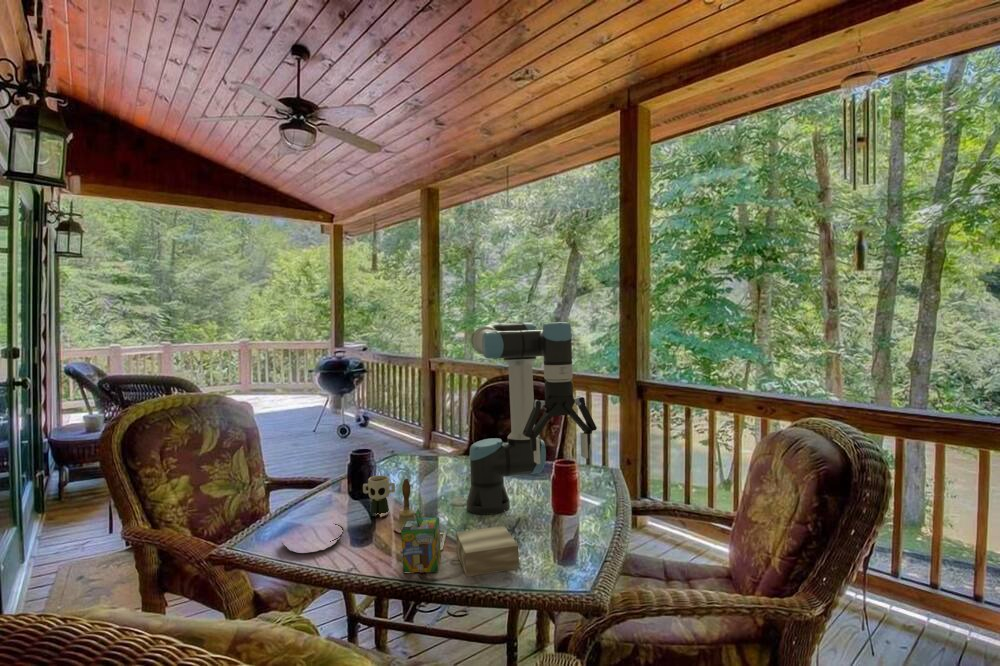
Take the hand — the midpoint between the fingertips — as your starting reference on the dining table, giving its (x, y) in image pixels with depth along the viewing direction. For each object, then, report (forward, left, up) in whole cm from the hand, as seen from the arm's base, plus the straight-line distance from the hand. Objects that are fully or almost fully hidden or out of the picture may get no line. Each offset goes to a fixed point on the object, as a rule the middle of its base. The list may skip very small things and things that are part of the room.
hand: (561, 460), depth 135 cm
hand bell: (-38, -39, -28) cm, 61 cm away
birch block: (-8, -19, -27) cm, 34 cm away
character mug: (-53, -46, -28) cm, 75 cm away
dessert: (-25, -34, -28) cm, 51 cm away
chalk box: (-11, -36, -28) cm, 47 cm away
